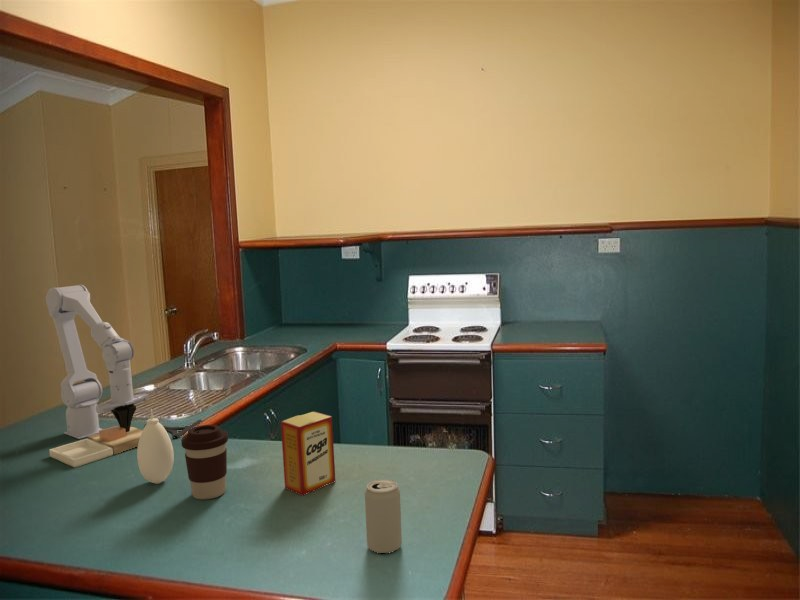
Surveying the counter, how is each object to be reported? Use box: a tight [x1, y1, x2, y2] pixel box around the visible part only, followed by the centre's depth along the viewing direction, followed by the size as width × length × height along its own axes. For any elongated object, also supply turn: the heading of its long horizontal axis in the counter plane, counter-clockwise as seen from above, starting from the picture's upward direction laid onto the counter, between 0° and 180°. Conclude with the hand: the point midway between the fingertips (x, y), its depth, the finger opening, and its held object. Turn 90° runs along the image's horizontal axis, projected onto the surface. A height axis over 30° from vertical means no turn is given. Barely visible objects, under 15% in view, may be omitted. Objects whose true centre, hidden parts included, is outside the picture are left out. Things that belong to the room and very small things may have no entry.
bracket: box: [143, 419, 203, 439], centre depth 189 cm, size 14×15×3 cm
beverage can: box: [364, 478, 403, 554], centre depth 116 cm, size 6×6×12 cm
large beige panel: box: [87, 425, 143, 456], centre depth 179 cm, size 14×12×2 cm
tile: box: [99, 425, 126, 442], centre depth 177 cm, size 5×5×2 cm
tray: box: [48, 438, 114, 469], centre depth 170 cm, size 14×10×2 cm
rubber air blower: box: [136, 408, 175, 485], centre depth 150 cm, size 8×8×18 cm
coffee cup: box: [180, 424, 229, 501], centre depth 142 cm, size 10×10×15 cm
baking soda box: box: [280, 411, 336, 496], centre depth 145 cm, size 10×6×16 cm
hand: (125, 431), depth 180 cm, fingers closed
